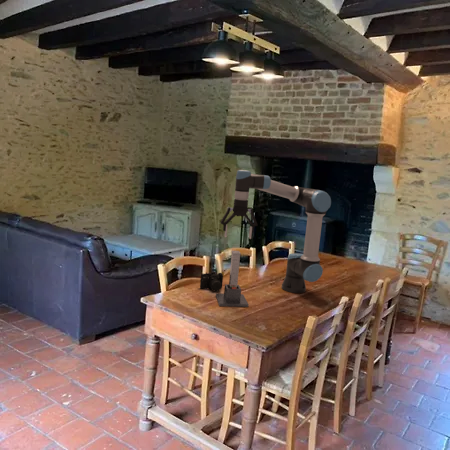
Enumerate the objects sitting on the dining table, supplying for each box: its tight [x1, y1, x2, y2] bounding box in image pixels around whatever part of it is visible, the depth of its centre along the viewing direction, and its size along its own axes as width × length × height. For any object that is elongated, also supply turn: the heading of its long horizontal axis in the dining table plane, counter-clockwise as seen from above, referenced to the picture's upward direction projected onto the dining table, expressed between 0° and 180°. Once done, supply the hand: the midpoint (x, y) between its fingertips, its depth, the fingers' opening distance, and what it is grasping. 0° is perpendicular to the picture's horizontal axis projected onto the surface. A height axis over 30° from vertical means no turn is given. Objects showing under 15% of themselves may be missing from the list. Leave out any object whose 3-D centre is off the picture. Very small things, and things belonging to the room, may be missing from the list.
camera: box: [199, 271, 224, 292], centre depth 251 cm, size 14×11×10 cm
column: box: [228, 250, 241, 289], centre depth 232 cm, size 4×6×21 cm, turn 9°
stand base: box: [215, 283, 250, 308], centre depth 234 cm, size 16×16×10 cm
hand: (237, 237), depth 229 cm, fingers open, 13 cm apart
